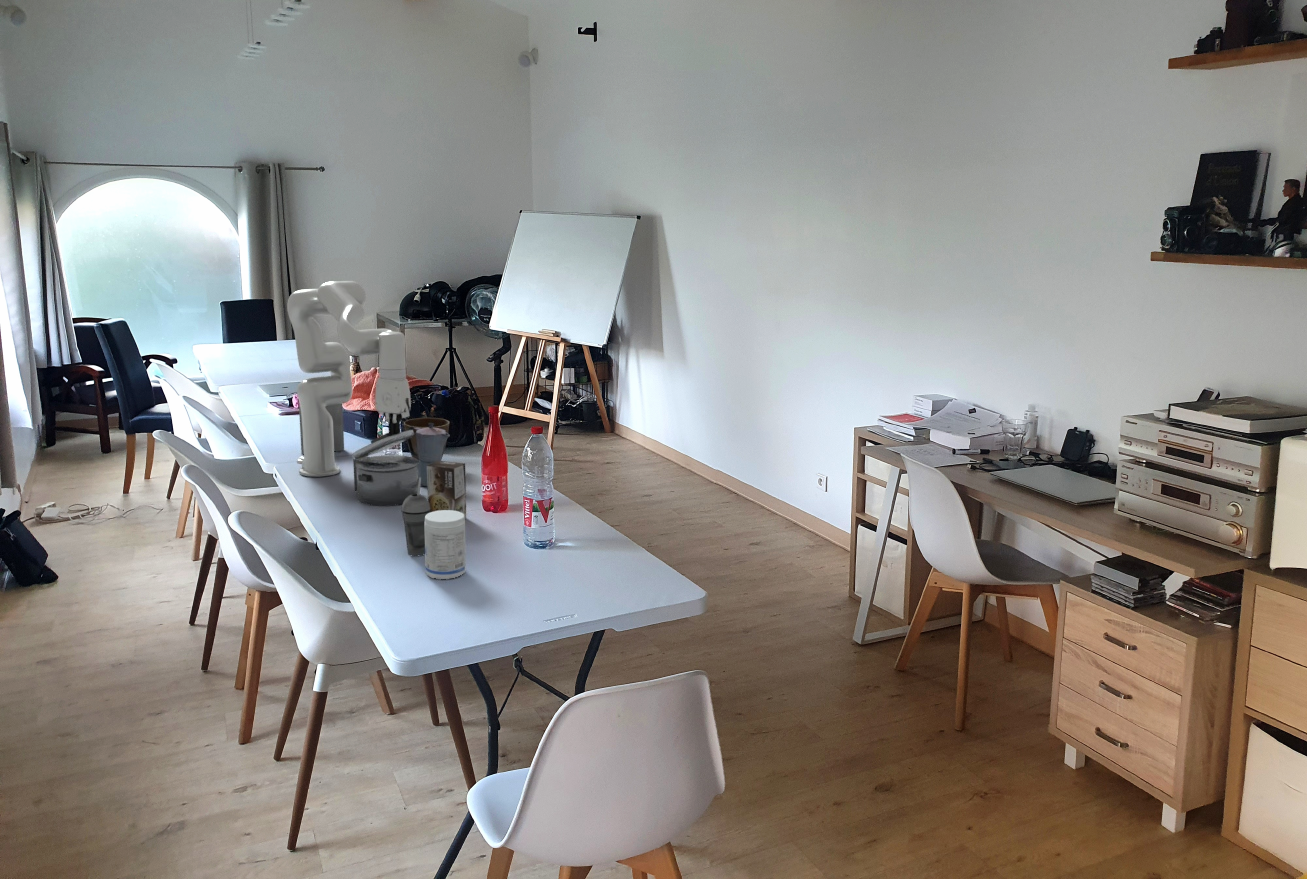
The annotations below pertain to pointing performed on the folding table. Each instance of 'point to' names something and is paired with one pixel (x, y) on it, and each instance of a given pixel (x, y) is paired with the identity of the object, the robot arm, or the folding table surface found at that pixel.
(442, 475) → the coffee box
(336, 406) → the grey upright box
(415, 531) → the beverage cup
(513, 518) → the folding table surface
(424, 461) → the moka pot
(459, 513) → the supplement tub
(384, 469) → the cooking pot
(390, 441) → the lid
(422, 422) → the plant pot
